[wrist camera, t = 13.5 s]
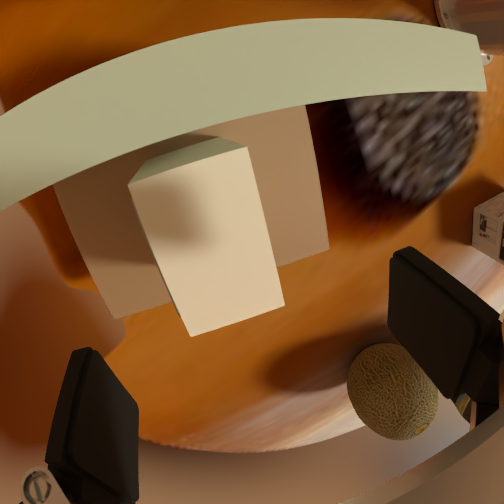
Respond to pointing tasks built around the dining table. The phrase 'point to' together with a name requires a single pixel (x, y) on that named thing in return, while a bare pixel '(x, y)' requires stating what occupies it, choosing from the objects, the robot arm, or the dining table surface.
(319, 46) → the pale l-shaped piece
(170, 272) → the cabinet block
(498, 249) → the light bulb box
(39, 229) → the dining table surface
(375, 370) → the fruit
